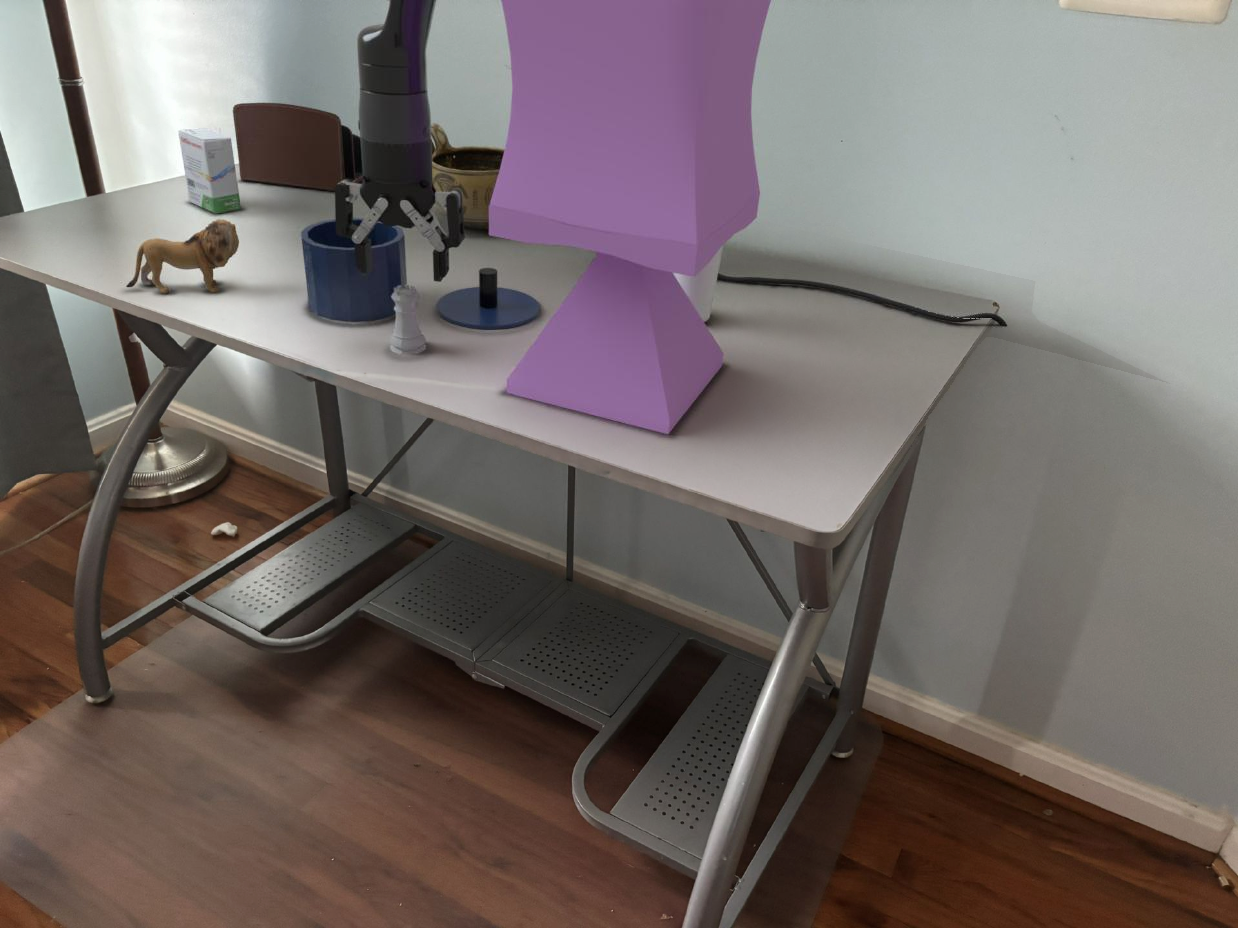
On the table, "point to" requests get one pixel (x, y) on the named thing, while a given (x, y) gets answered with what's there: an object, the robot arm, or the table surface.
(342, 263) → the pot
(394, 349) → the rook chess piece
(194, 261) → the lion figurine
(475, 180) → the ceramic bowl
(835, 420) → the table surface
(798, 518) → the table surface
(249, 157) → the letter holder
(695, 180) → the purple table lamp
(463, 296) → the lid
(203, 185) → the ink box
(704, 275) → the drinking glass
